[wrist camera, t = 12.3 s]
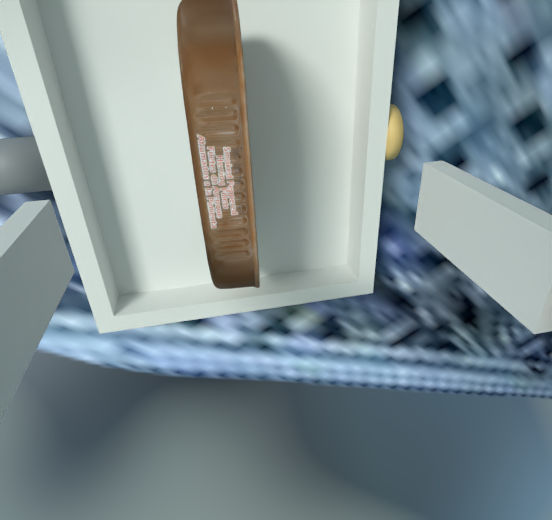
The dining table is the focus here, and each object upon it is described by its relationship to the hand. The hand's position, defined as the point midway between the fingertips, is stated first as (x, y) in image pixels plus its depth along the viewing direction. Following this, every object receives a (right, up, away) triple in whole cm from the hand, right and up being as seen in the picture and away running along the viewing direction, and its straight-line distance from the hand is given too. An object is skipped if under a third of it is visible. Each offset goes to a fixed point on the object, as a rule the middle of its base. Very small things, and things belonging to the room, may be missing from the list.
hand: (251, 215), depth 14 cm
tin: (-3, +6, +11) cm, 12 cm away
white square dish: (-4, +6, +11) cm, 13 cm away
